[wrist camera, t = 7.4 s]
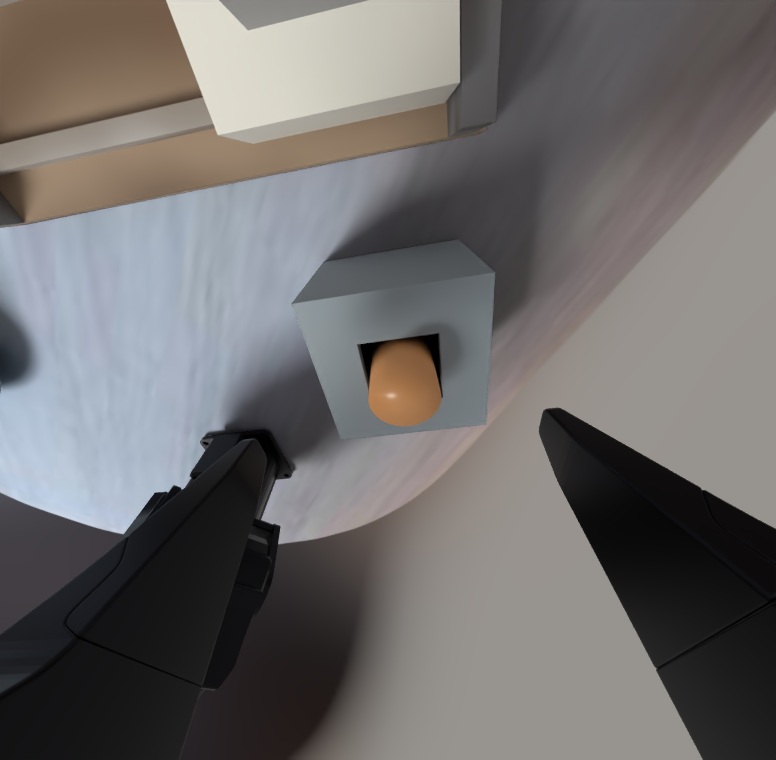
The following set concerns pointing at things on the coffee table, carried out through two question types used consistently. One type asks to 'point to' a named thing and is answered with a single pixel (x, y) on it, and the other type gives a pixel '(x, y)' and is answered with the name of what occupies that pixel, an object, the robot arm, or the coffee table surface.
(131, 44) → the rail
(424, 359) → the orange-brown egg-shaped piece
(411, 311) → the box
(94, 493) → the coffee table surface
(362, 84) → the carriage
